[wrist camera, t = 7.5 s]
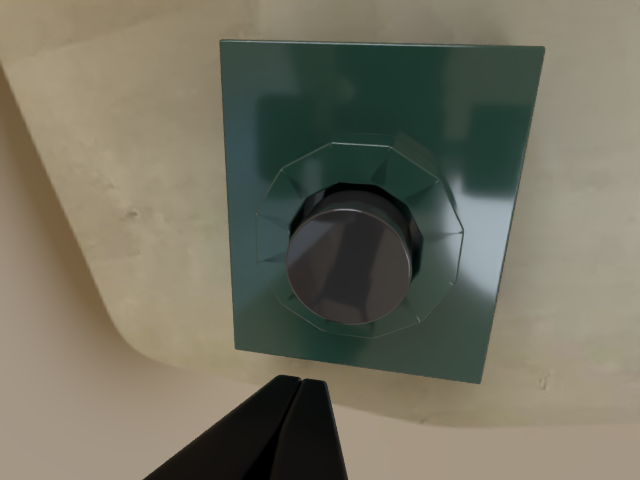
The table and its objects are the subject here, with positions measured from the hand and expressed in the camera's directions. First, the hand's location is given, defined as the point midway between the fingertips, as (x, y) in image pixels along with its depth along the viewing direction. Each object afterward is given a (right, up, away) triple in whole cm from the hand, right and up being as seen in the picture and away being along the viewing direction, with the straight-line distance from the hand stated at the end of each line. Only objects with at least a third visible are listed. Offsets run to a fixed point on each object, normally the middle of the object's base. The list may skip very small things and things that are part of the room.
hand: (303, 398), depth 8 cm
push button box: (+3, +5, +12) cm, 13 cm away
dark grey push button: (+1, +3, +7) cm, 7 cm away
